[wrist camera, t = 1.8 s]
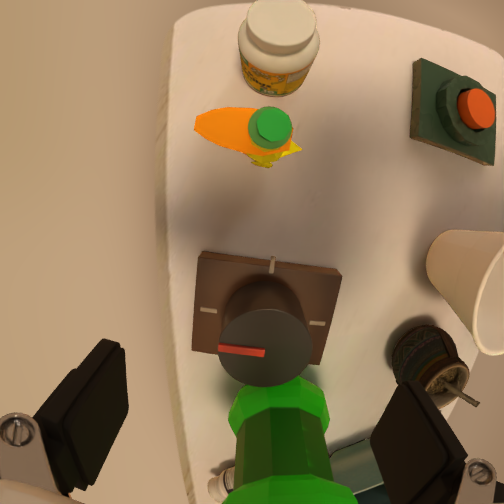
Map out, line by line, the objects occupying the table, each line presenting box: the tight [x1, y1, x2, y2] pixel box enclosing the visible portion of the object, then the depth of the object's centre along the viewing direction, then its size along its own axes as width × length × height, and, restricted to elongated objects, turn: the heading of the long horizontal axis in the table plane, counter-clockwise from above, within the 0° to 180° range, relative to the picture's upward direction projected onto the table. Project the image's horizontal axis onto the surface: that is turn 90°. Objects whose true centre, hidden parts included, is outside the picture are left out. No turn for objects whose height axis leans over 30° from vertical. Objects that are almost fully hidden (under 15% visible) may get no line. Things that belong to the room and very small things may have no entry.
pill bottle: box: [208, 467, 235, 502], centre depth 31 cm, size 5×5×10 cm
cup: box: [426, 230, 504, 355], centre depth 21 cm, size 10×10×11 cm
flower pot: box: [329, 439, 391, 504], centre depth 29 cm, size 9×9×9 cm
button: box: [457, 88, 495, 129], centre depth 19 cm, size 4×4×2 cm
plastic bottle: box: [222, 375, 358, 504], centre depth 18 cm, size 10×10×25 cm
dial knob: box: [218, 281, 313, 387], centre depth 23 cm, size 7×7×6 cm
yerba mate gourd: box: [392, 324, 480, 409], centre depth 24 cm, size 7×8×10 cm
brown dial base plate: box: [192, 251, 342, 365], centre depth 27 cm, size 12×11×2 cm
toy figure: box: [194, 107, 302, 168], centre depth 19 cm, size 7×4×12 cm, turn 80°
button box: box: [410, 58, 496, 166], centre depth 21 cm, size 10×8×4 cm
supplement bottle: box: [238, 0, 320, 97], centre depth 18 cm, size 5×5×10 cm
